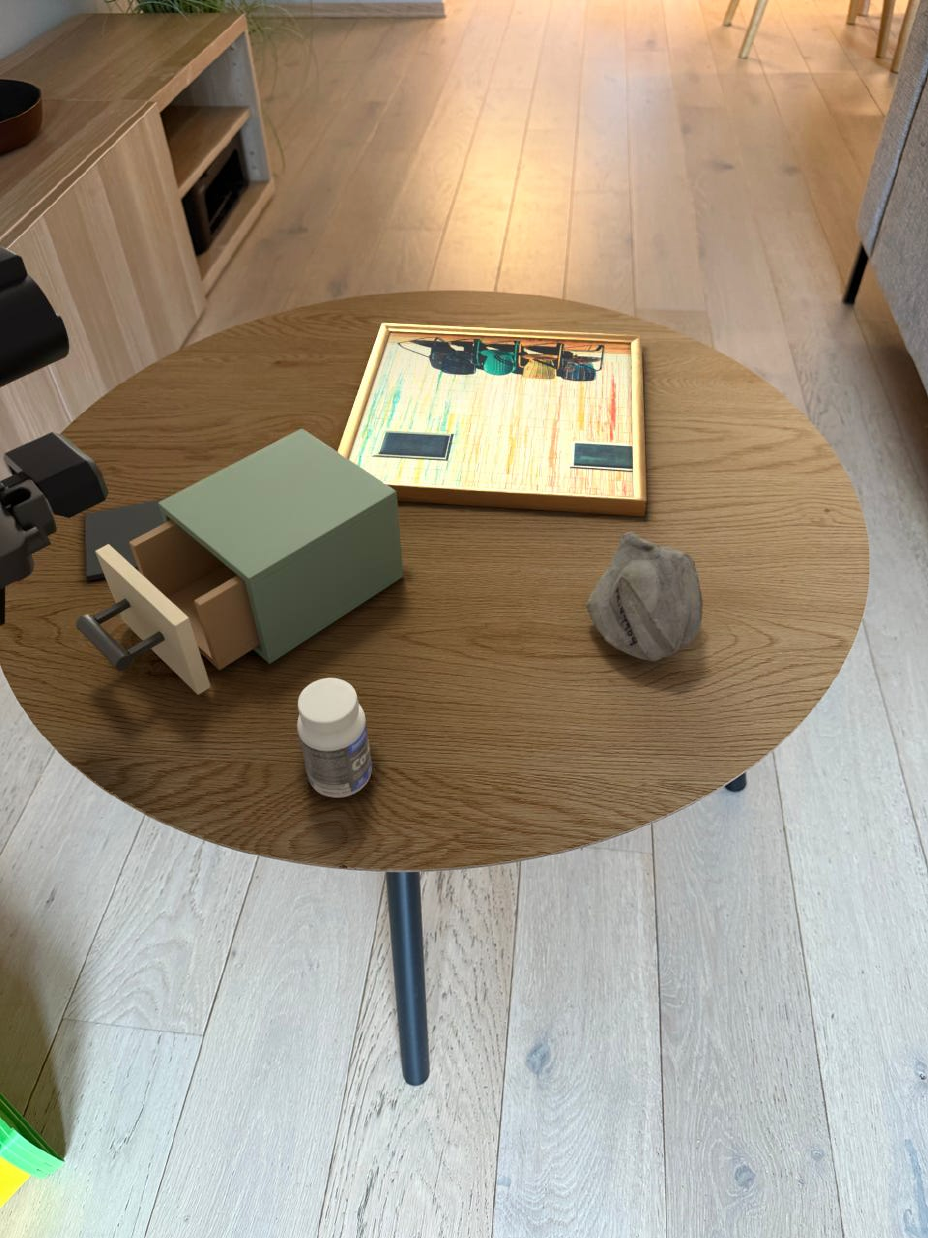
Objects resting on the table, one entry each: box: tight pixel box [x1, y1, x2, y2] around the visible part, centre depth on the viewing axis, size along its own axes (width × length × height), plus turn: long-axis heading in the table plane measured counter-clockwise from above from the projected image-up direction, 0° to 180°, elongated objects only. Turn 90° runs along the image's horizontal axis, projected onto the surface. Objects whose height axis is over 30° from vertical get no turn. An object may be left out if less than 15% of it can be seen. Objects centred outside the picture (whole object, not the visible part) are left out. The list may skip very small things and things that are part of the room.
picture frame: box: [337, 322, 648, 517], centre depth 100 cm, size 30×2×30 cm
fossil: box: [586, 531, 704, 662], centre depth 76 cm, size 11×9×8 cm
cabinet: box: [158, 428, 404, 665], centre depth 80 cm, size 15×13×10 cm
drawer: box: [75, 520, 260, 696], centre depth 76 cm, size 18×11×8 cm, turn 134°
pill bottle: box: [296, 677, 373, 799], centre depth 66 cm, size 5×5×8 cm
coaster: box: [84, 499, 164, 582], centre depth 87 cm, size 9×9×1 cm
